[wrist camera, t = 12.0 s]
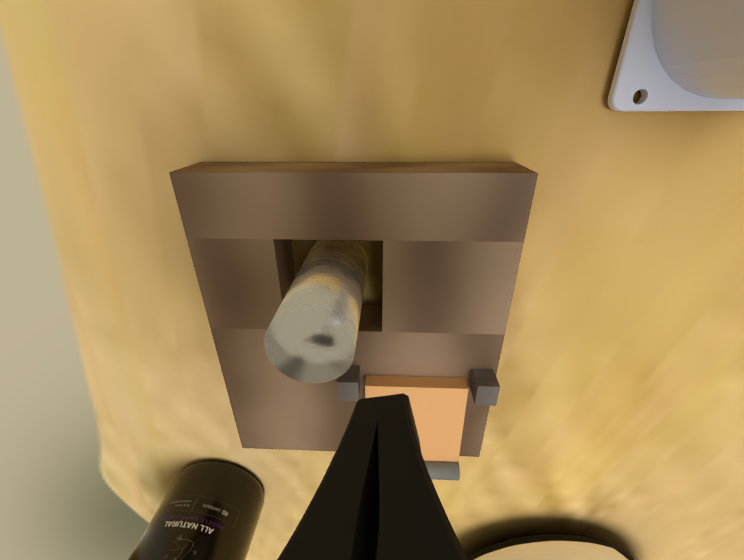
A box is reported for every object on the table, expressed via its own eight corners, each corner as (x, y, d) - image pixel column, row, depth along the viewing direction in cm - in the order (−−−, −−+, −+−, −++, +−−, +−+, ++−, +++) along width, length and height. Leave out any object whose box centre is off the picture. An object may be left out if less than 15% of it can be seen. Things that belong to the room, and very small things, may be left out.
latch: (465, 377, 18) (471, 397, 16) (454, 461, 20) (458, 484, 19) (366, 375, 18) (364, 394, 16) (367, 458, 20) (365, 480, 19)
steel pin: (362, 229, 17) (345, 305, 11) (372, 284, 18) (361, 379, 12) (302, 237, 17) (252, 315, 11) (316, 290, 18) (277, 386, 12)
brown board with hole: (516, 162, 15) (551, 180, 12) (470, 421, 22) (484, 476, 19) (200, 162, 16) (150, 178, 12) (256, 414, 23) (234, 466, 20)
